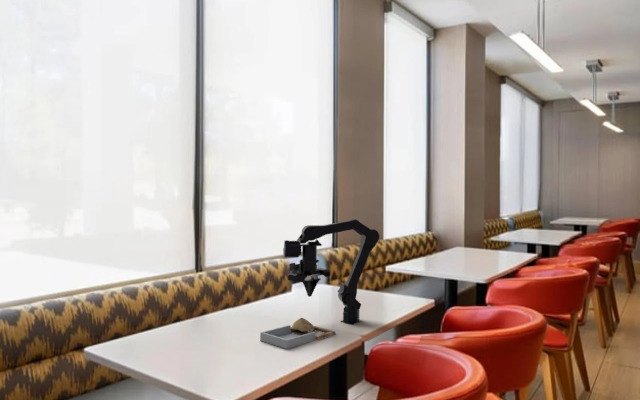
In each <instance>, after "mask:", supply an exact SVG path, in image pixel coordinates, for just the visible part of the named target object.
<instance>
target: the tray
mask: <svg viewBox="0 0 640 400" xmlns="http://www.w3.org/2000/svg"><path fill="white" fill-rule="evenodd" d="M291 327H292V325H290V324H288V325H284V326H280V327H276V328H273V329H268V330H265V331H260V333H259V335H260V338H259V339H260V341H259V342H263V343H265V344H270V345H272V346H276V347H279V348H282V349H285V350H290V349H292V348H295V347H298V346H301V345H305V344H307V343H310V342H313V341H316V340H315V339H316V336H317V335H316V332H317V331H312V332H310V333H305V334H301V335H298V334H296V333H293V332H291Z"/></svg>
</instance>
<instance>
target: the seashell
mask: <svg viewBox="0 0 640 400" xmlns="http://www.w3.org/2000/svg"><path fill="white" fill-rule="evenodd" d="M314 326H315V325H313V323H311V322H310V321H309V320H307V319H306V318H303V317H300V318H298V319H297V320H296V321H294V323H293V324H292V325H291V327H292V329H295V330H296V331H300V332H302V333H305V334H308V333H311V332H314V331H315V330H314Z"/></svg>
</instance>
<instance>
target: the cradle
mask: <svg viewBox="0 0 640 400" xmlns="http://www.w3.org/2000/svg"><path fill="white" fill-rule="evenodd" d="M313 326H314V330H313V331H315V330H316V331H315V332H319V331H320V333H321V334H318V335H316V340H315V341H320V340H323V339H325V337H326V338H328V336H329V337H331V336H334V335H336V331H335V330H332V329H327V328H324V327H320V326H317V325H316V326H315V325H313ZM296 331H297V330H295V329H292V326H291V333H293V332H296ZM323 332H324V333H323ZM322 338H323V339H322Z"/></svg>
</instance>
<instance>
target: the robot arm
mask: <svg viewBox="0 0 640 400" xmlns="http://www.w3.org/2000/svg"><path fill="white" fill-rule="evenodd" d="M351 230H353V231H354V232H356V233H357V234H358V235H360V240H359V242H360V243H359V248H358V249H359V250H358V252H357V255H356V257H355V260H354V262H353V265H352V267H351V270H350V272H349V275H348V278H347V280H346V281H345V282H344V283H343V282H341V283H340V285H339V289H338V290H337V296H338V300H339V301H341V303H342V304H343V306H344V307H343V311H342V320H340V323H344V324H348V325H355V324H358V323H361V322H362V320H361V319H360V309H361V306H362V303H360V301H359V300H358V299H357V293H358V284H359V282H360V279H361V276H362V273H363V272H364V268H365V266H366V264H367V261H368V258H369V256H370V253H371V252H372V250H373V249H374V248H375V247H376V245H377V243H378V242H379V241H380V237H381V236H380V233H379V231H378V230H376V229H375V228H374V229H373V228H370V227H368V226H366V225H365V224H363V223H362V222H361V221H359V219H356V218H355V219H354V218H352V219H351V218H350V219H349V220H343V221H338V222H335V223H329V224H323V225H322V224H316V225H315V224H314V225H313V224H311V225H304V226H303V227H302V229H301V234H300V235H299V237H297V239H296V240H288V239H287V240H284V242H283V243H284V244H283V249H282V251H283V253H282V254H283V258H284V259H286V258H288V259H292V258H299V256H301V255H302V256H301V257H302V258H301V259H300V260H299V263H296V262H291V263H289V265H288V269H289V271H290V272H289V273H288V275H287V280H288V281H290V282H297V283H299V282H301V283H302V284H303V286H304V289H305V291H306V295H307V297H309V298H310V297H312V295H313V293H314V291H315V289H316V287H317V285H318V283H319V282H320V281H321V278H320V277H319V276H323V277H324V278H328V277H331V270H330V269H329V268H322V267H321V268H320V267H319V268H318V267H317V266H318V264H317V263H319V262H320V259H318V257H317V255H318V252H317V251H318V249H317V247H322V246H323V244H322V243H321V242H320V241H319V239H321V238H322V237H325V236H327V235H331V234H336V233H341V232H346V231H351ZM314 240H315V241H314Z"/></svg>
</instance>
